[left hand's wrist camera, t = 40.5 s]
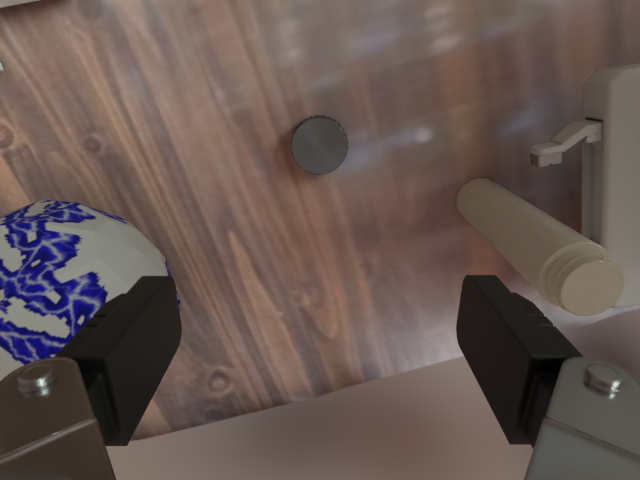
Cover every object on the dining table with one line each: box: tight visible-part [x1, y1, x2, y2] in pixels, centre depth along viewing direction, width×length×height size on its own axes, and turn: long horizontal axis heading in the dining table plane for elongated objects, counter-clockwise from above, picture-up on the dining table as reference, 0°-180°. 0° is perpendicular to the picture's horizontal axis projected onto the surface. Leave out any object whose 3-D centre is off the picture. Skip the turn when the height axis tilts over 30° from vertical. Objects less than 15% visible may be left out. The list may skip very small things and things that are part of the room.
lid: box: [291, 115, 348, 174], centre depth 38 cm, size 5×5×2 cm
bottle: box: [456, 178, 625, 316], centre depth 32 cm, size 4×4×18 cm
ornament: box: [0, 200, 180, 381], centre depth 35 cm, size 20×20×20 cm
